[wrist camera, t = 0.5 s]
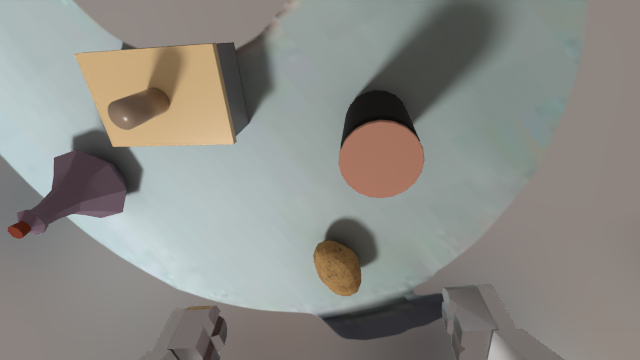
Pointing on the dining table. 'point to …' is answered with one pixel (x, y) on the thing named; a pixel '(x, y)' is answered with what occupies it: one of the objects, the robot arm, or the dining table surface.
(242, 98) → the tub
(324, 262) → the potato
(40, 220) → the flask
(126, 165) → the dining table surface
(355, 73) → the dining table surface
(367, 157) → the coffee jar
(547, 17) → the dining table surface
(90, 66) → the lid
